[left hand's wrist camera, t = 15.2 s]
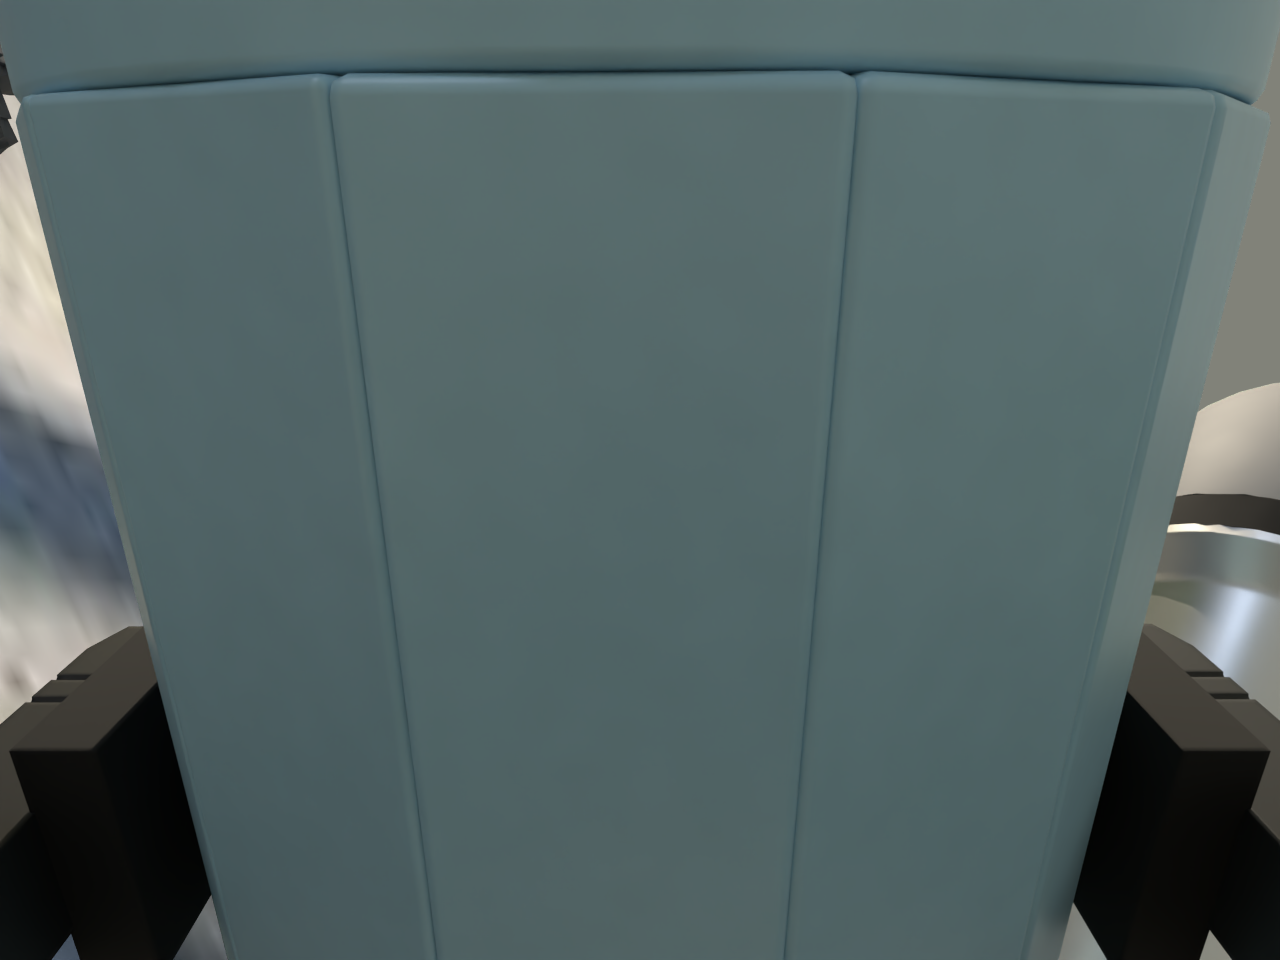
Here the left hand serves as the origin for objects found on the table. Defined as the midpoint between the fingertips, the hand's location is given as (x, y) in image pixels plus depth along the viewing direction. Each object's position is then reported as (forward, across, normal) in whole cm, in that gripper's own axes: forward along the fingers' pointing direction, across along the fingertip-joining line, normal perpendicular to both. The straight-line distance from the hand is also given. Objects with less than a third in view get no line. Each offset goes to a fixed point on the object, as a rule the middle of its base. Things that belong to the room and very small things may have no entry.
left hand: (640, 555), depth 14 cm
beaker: (-4, 0, -7) cm, 8 cm away
